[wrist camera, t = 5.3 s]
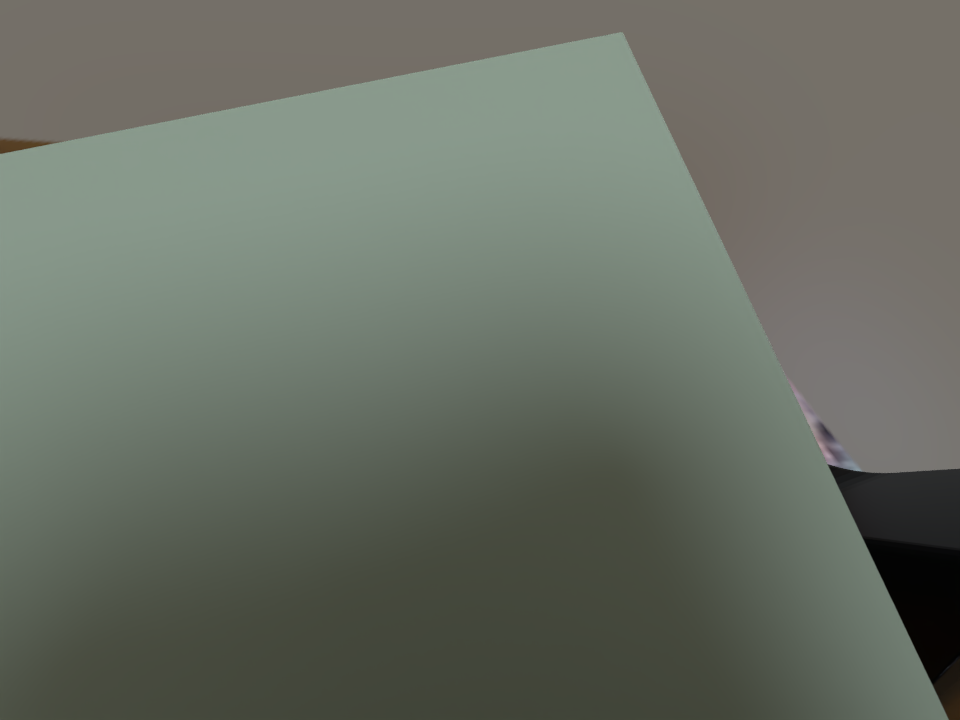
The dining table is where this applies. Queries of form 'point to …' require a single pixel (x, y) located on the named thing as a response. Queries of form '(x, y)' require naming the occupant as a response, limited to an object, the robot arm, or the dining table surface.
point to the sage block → (412, 424)
